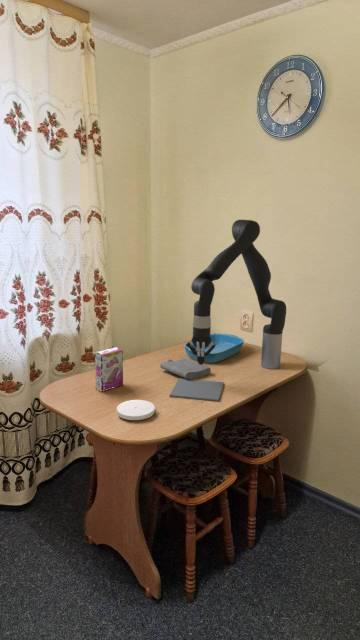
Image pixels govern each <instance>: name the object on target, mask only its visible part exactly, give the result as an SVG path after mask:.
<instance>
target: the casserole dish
mask: <svg viewBox="0 0 360 640" xmlns="http://www.w3.org/2000/svg"><path fill="white" fill-rule="evenodd" d="M210 338H211V342H213V343H215V344H216V346H215V348H214V349H213V350H212V351H211V352H210V353H209V354H208V355H207V356H205V360H204V363H206V364H215V363H219V362H221V361H224V360H226V359H228V358H230V357H232V356H234V355H236V354H238V353H239V352H240V351H241V349H242V347H243V344H244V342H245V339H243V338H241V337H240V336H238V335H235V334H231V333H230V334H228V333H227V334H226V333H210ZM187 343H188V342H186V343H184V345H183V346H184V350H185V353H186V355H187V356H188V357H189V358H190V359H191V360H195V361H198V356H197V355H194V354H193V353H192V351H191V350H190V349H189V347H188V346H187ZM193 347H194V348H195V349H196V351H197V348H196V347H195V345H194V344H193ZM209 348H210V344H209V345H208V347H207V348H206V349H205V352H207V351H208V349H209ZM201 353H202V349H201Z"/></svg>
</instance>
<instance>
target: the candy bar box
mask: <svg viewBox="0 0 360 640" xmlns="http://www.w3.org/2000/svg"><path fill="white" fill-rule="evenodd" d="M94 355H95V356H94V357H95V358H94V359H95V362H94V363H95V364H94V365H95V366H94V367H95V368H94V369H95V389H96V388H98V389H100V390H102V391H103V390H106V389H109V388H112V387H115V388H117V387H116V386H118V387H121V386H120V385H122V386H124V349H122V348H119V347H115V346H114V347H111V348H107V349H105V350H104V349H103V350H99V351H95V352H94ZM98 389H97V390H98ZM112 389H113V388H112ZM109 390H110V389H109ZM106 391H107V390H106ZM103 392H104V391H103Z"/></svg>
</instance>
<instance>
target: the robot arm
mask: <svg viewBox="0 0 360 640" xmlns="http://www.w3.org/2000/svg"><path fill="white" fill-rule="evenodd" d="M231 233H232V237H233V240H234V242H233V243H232V244H231V245H229V246H228V247H227V248H225V249H224V250H222V251H221V252H220V253H218V254H217V255H216V256H215V257H214V258H213V260H212V261H211V262H210V264H209V265H208V266H207V268H205V269H204V270H203V271H201V272H200V273H199V274H198V275H197V276H196V277H195V278H194V279H193V281H192V283H191V284H190V285H191V287H190V288H191V291H192V293H194V294H196V295H199V299H198V300H197V301H194V305H193V319H192V338H191V340H190V341H187V342H186V343H187V346H188V347H189V349H190V350H191V351H192V353H193V354H194V355H197V356H198V360H197V363H198V364H200V365H204V364H205V362H204V360H205V356H207V355H208V354H209V353H210V352H211V351H212V350H213V349H214V348H215V346H216V344H215V343H213V342H211V338H210V334H211V331H212V329H211V328H212V326H211V324H212V319H211V305H212V303H213V299H214V295H215V290H216V288H215V283H214V281H218V280H219V279H221V278H222V277H223V275H224V274H225V273H226V272H227V270H228V269H229V268H230V266H231V265H232V264H233V262H235V260H236V259H238V258H239V256H242V259H243V261H244V263H245V266H246V269H247V272H248V275H249V277H250V280H251V282H252V285H253V288H254V290H255V294H256V298H257V301H258V305H259V310H260V312H261V314H262V316H264V317H266V318H268V319H270V323H269V324H268V323H267V324H265V325H263V328H262V339H261V340H262V343H261V358H260V360H261V361H260V366H261V367H262V368H264V369H270V370H273V369H274V370H277V369H279V368H281V361H282V348H283V347H282V345H283V344H282V342H283V331H284V328H285V324H286V316H287V305H286V303H285V301H284V300H279V299H275V298H273V297H272V294H271V293H270V289H269V286H270V283H271V280H272V279H271V278H272V274H271V270H270V267H269V265H268V262H267V260H266V259H265V258H264V256H263V255H262V254H261V253H260V251H259V250H258V249H257V248H256V246H255V245H254V243H255V241H257V239H258V238H259V236H260V234H261V226H260V224H259V223H258V222H257V221H255V220H252V219H236V220H235V221H234V222H233V223H232V226H231ZM193 344H194V345H195V347H196V348H197V351H196V349H195V348H194V347H193ZM209 344H210V348H209V349H208V351H207V352H205V349H206V348H207V347H208V345H209ZM201 349H202V353H201Z"/></svg>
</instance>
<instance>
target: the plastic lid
mask: <svg viewBox="0 0 360 640" xmlns="http://www.w3.org/2000/svg"><path fill="white" fill-rule="evenodd" d="M155 410H156V409H155V405H154V403H152V402H150V401H149V400H148V401H147V400H144V399H131V400H126V401H123V402H121V403H120V404H118V405H117V407H116V415H117V416H118V417H120V418H121V419H123V420H130V421H141V420H145V419H148V418H151V417H152V416H153V415H154V414H155Z"/></svg>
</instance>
